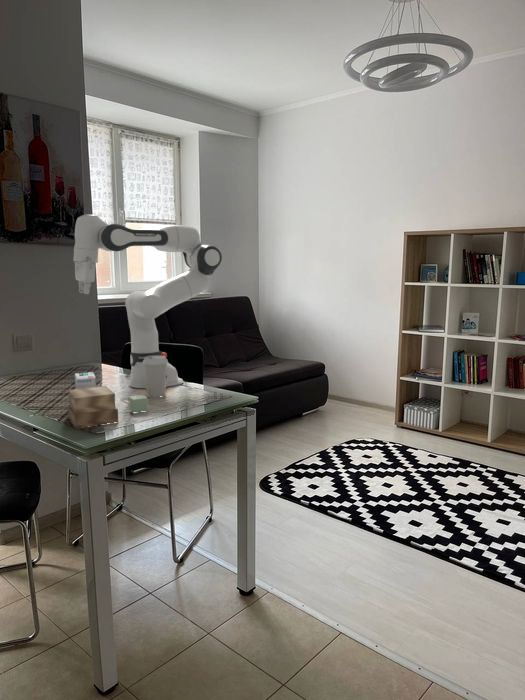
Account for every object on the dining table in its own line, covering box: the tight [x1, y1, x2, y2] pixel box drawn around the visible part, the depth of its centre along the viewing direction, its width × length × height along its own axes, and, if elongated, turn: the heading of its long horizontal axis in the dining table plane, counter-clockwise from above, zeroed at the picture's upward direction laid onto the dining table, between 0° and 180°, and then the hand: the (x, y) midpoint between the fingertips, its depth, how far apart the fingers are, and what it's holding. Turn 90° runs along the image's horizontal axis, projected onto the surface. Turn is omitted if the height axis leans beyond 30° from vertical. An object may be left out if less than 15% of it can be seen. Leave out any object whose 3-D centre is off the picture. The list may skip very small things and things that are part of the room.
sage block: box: [128, 394, 149, 413], centre depth 177 cm, size 5×5×5 cm
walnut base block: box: [67, 404, 119, 430], centre depth 166 cm, size 13×13×5 cm
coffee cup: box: [143, 356, 169, 398], centre depth 198 cm, size 10×10×15 cm
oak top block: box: [67, 385, 116, 414], centre depth 165 cm, size 12×12×5 cm
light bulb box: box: [74, 371, 97, 389], centre depth 186 cm, size 11×7×11 cm, turn 23°
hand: (84, 293), depth 200 cm, fingers open, 8 cm apart
